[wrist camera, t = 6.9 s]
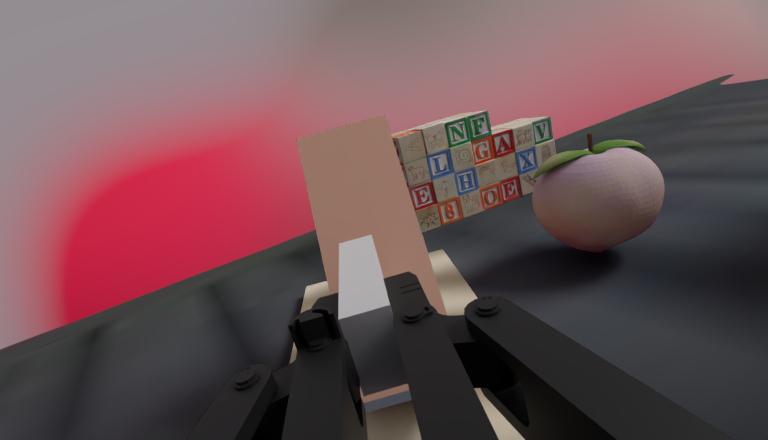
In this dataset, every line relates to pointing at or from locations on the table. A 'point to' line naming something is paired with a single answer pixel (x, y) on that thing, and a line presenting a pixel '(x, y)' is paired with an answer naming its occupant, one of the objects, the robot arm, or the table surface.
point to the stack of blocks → (470, 164)
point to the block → (366, 212)
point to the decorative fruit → (598, 194)
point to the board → (398, 422)
